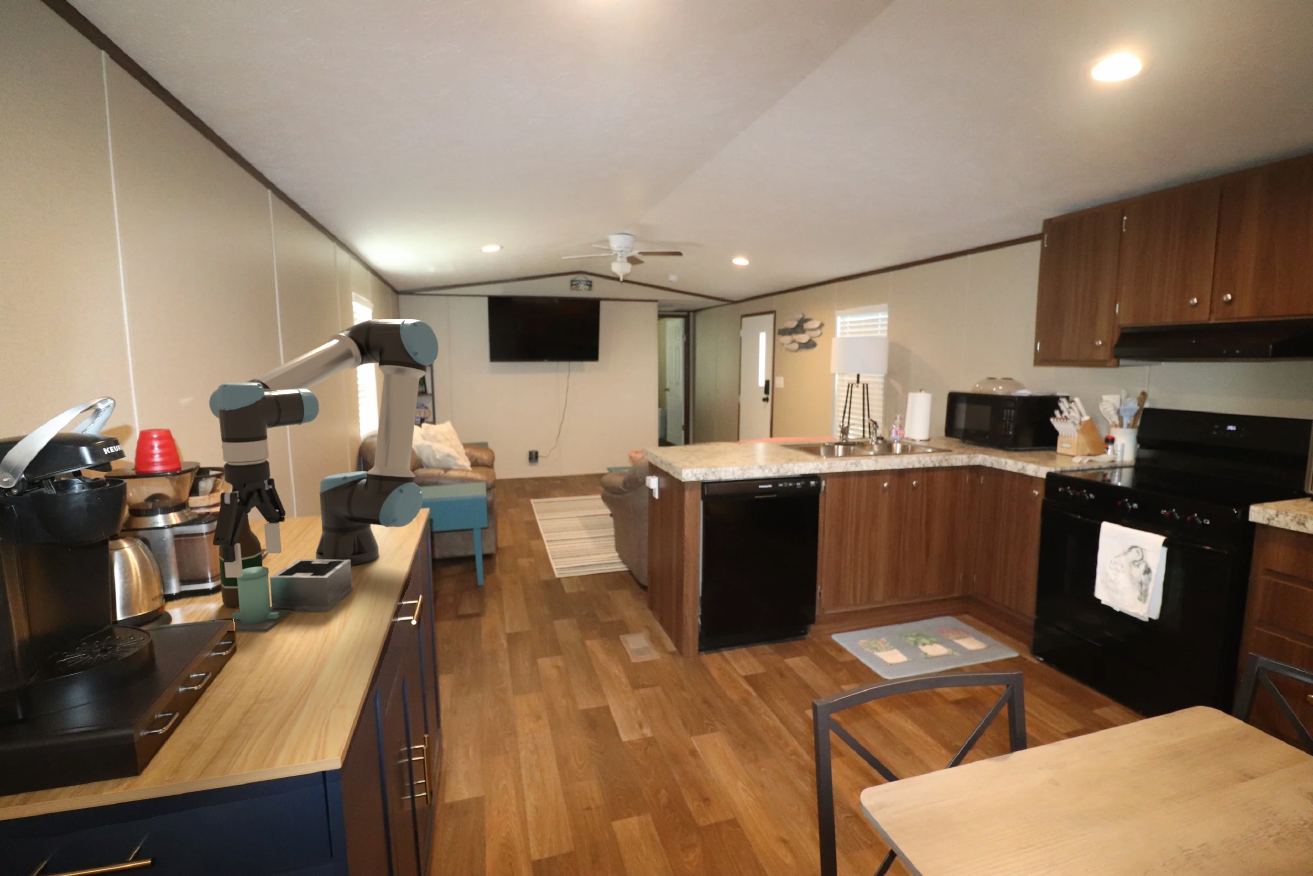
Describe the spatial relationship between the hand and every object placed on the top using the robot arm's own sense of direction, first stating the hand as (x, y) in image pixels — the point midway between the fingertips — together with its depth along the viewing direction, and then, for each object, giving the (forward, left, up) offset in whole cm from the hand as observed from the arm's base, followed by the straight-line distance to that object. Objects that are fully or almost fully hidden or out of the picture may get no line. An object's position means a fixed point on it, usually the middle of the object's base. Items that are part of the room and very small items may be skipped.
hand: (255, 564), depth 124 cm
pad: (0, 0, -12) cm, 12 cm away
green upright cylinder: (0, 0, -11) cm, 11 cm away
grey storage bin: (-11, +6, -12) cm, 17 cm away
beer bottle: (-10, -9, -12) cm, 18 cm away
